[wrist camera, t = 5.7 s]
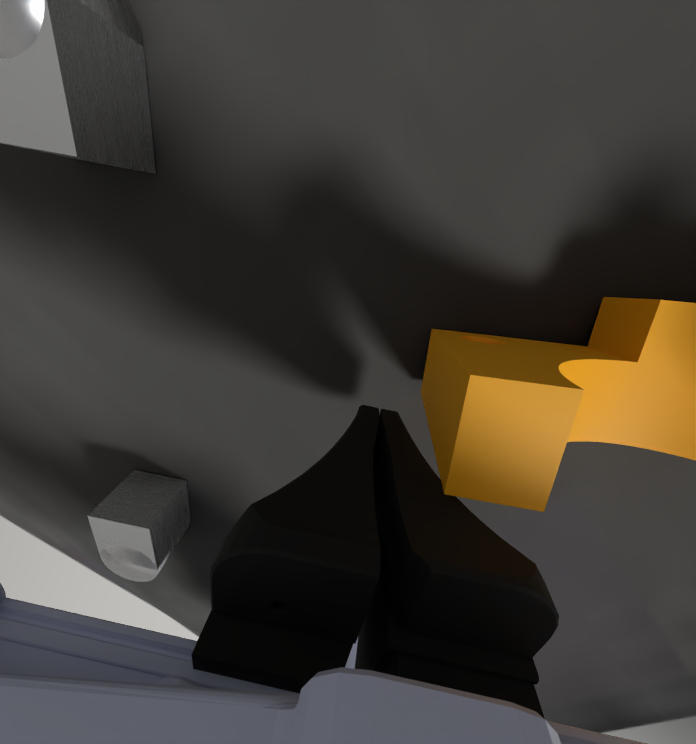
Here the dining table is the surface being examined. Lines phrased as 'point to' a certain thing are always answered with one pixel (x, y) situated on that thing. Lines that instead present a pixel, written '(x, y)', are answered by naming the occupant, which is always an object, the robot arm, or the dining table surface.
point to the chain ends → (105, 146)
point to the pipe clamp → (559, 398)
